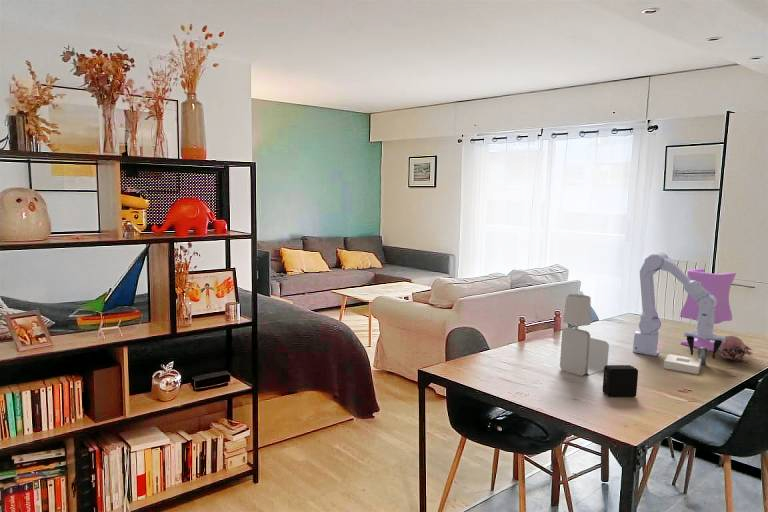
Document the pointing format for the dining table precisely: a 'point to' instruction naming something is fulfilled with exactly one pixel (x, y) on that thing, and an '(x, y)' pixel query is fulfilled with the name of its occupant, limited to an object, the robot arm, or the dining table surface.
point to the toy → (733, 348)
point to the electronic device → (620, 381)
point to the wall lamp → (581, 339)
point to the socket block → (682, 363)
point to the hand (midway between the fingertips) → (702, 356)
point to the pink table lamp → (720, 290)
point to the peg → (702, 355)
